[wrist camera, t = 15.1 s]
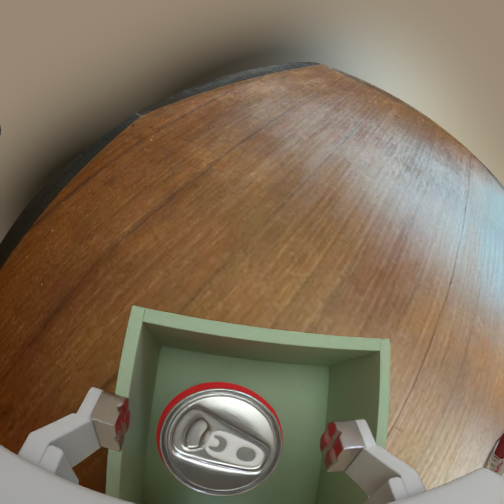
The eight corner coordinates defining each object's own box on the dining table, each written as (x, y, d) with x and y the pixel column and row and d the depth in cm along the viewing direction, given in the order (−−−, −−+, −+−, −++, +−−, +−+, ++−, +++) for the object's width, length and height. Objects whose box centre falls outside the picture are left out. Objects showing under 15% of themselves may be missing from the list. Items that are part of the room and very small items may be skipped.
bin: (134, 503, 15) (106, 546, 8) (155, 335, 23) (132, 304, 15) (317, 516, 17) (364, 554, 9) (334, 359, 24) (390, 339, 16)
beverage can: (194, 371, 21) (186, 359, 10) (255, 398, 21) (308, 410, 10) (167, 427, 19) (132, 468, 8) (229, 453, 18) (257, 515, 8)
